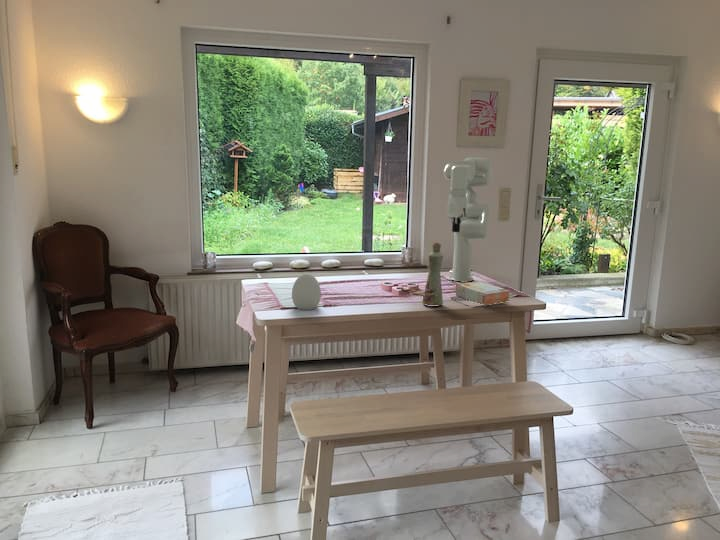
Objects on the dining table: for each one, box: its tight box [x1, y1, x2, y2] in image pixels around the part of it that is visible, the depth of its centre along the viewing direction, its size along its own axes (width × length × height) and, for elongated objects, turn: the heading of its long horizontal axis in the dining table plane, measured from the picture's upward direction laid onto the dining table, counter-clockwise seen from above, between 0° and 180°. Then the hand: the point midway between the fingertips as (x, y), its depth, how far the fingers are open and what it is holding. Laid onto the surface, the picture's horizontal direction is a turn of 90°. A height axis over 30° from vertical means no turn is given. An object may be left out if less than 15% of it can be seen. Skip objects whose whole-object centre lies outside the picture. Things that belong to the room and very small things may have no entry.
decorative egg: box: [291, 272, 322, 311], centre depth 252 cm, size 12×12×15 cm
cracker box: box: [455, 280, 510, 305], centre depth 272 cm, size 14×6×21 cm
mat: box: [450, 296, 469, 301], centre depth 272 cm, size 16×18×1 cm
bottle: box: [421, 242, 444, 306], centre depth 260 cm, size 9×9×28 cm
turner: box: [410, 288, 425, 297], centre depth 283 cm, size 16×5×1 cm, turn 48°
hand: (455, 231), depth 281 cm, fingers closed
